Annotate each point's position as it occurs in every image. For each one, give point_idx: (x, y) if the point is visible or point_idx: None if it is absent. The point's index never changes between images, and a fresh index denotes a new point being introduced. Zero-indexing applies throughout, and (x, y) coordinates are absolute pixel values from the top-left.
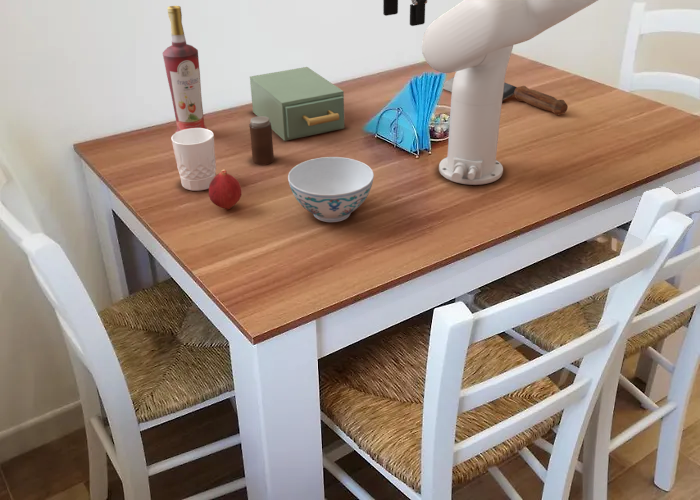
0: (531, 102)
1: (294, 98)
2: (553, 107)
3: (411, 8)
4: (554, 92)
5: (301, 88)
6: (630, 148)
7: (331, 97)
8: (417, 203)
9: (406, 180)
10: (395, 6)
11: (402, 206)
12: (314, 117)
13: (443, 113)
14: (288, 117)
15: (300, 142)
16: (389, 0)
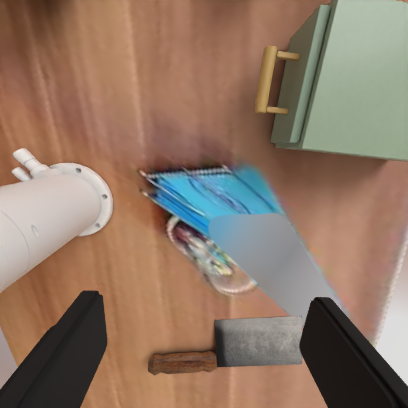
0: (187, 354)
1: (339, 34)
2: (156, 359)
3: (11, 381)
4: (206, 385)
5: (373, 84)
6: None
7: None
8: (23, 88)
9: (88, 118)
10: (319, 373)
11: (21, 64)
12: (291, 83)
13: (232, 274)
14: (308, 18)
15: (275, 59)
16: (358, 390)
